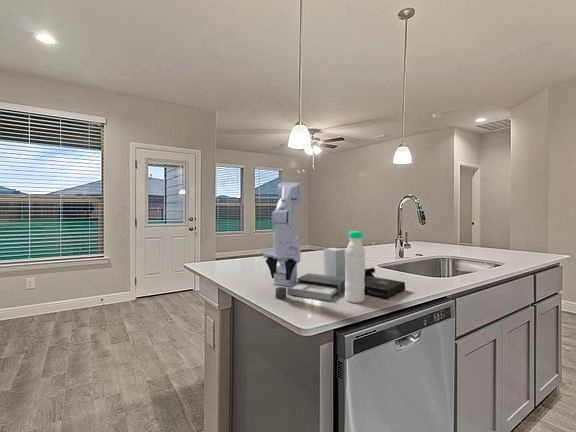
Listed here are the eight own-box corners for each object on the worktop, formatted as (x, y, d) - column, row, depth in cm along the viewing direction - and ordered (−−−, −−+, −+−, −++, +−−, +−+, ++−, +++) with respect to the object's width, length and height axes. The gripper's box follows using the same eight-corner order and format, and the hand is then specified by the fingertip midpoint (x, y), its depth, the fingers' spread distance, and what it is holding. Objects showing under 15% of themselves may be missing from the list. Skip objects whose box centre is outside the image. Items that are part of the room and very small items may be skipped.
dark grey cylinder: (273, 298, 117) (273, 288, 117) (278, 295, 120) (278, 286, 120) (283, 299, 115) (283, 290, 115) (288, 297, 118) (288, 287, 118)
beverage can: (374, 284, 143) (355, 280, 153) (376, 267, 144) (357, 264, 154) (359, 283, 138) (341, 279, 148) (362, 265, 139) (343, 262, 149)
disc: (270, 278, 116) (270, 273, 116) (278, 275, 121) (278, 270, 121) (284, 280, 114) (284, 275, 114) (291, 277, 119) (291, 272, 119)
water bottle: (342, 297, 118) (343, 230, 117) (360, 297, 119) (362, 230, 118) (347, 303, 111) (348, 232, 110) (367, 303, 112) (368, 232, 111)
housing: (297, 289, 130) (297, 278, 129) (308, 283, 139) (308, 273, 139) (339, 295, 121) (339, 283, 121) (348, 288, 131) (348, 278, 131)
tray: (287, 294, 122) (287, 287, 122) (299, 287, 131) (299, 281, 131) (330, 301, 113) (330, 294, 113) (340, 293, 123) (340, 287, 123)
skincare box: (346, 282, 141) (346, 249, 140) (335, 284, 137) (336, 250, 137) (333, 278, 148) (333, 247, 147) (323, 280, 144) (323, 248, 144)
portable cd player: (405, 291, 129) (405, 281, 129) (387, 301, 116) (387, 290, 116) (368, 284, 140) (368, 275, 139) (347, 292, 127) (347, 282, 127)
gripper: (258, 242, 117) (258, 278, 117) (293, 244, 110) (293, 283, 111) (268, 240, 123) (268, 274, 124) (302, 242, 116) (302, 279, 117)
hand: (281, 278), depth 118 cm, fingers closed on disc, 6 cm apart
